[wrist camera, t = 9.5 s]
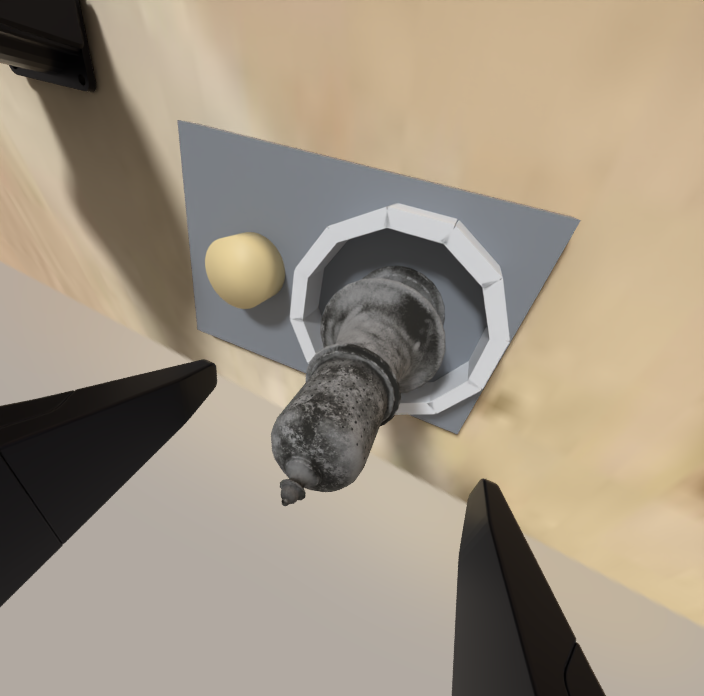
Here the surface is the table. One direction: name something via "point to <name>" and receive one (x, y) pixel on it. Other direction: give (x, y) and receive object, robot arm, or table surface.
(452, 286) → the socket board
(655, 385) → the table surface
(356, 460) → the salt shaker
